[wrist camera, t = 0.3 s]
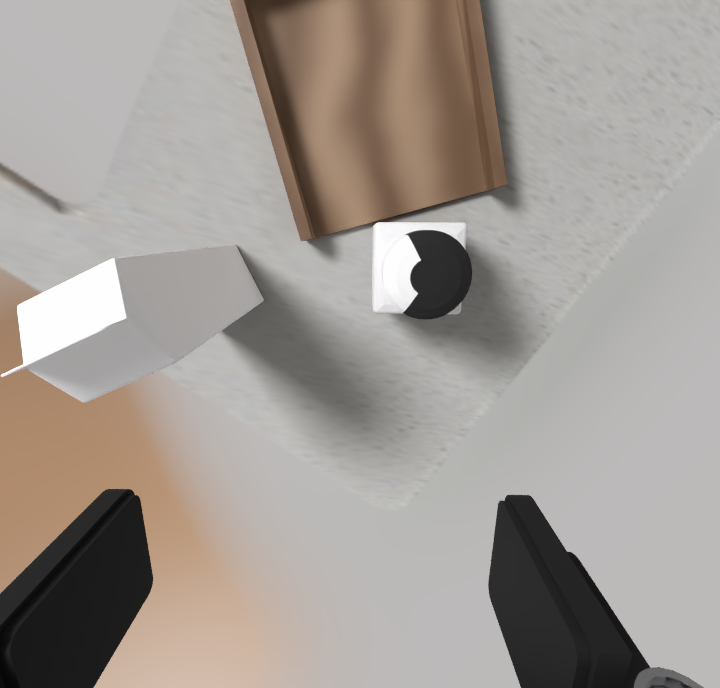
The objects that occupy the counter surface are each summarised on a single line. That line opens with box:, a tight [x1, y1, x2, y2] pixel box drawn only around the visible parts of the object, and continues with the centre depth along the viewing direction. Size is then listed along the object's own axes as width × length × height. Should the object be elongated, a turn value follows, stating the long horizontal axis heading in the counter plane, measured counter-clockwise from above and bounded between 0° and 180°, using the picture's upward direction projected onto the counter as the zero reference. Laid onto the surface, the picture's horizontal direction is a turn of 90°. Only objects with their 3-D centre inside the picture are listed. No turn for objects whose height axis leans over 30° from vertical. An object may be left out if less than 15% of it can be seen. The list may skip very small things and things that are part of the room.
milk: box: [1, 244, 264, 403], centre depth 28 cm, size 6×6×22 cm
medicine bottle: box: [372, 222, 472, 319], centre depth 32 cm, size 7×7×12 cm
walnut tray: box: [230, 0, 507, 241], centre depth 32 cm, size 18×20×3 cm
